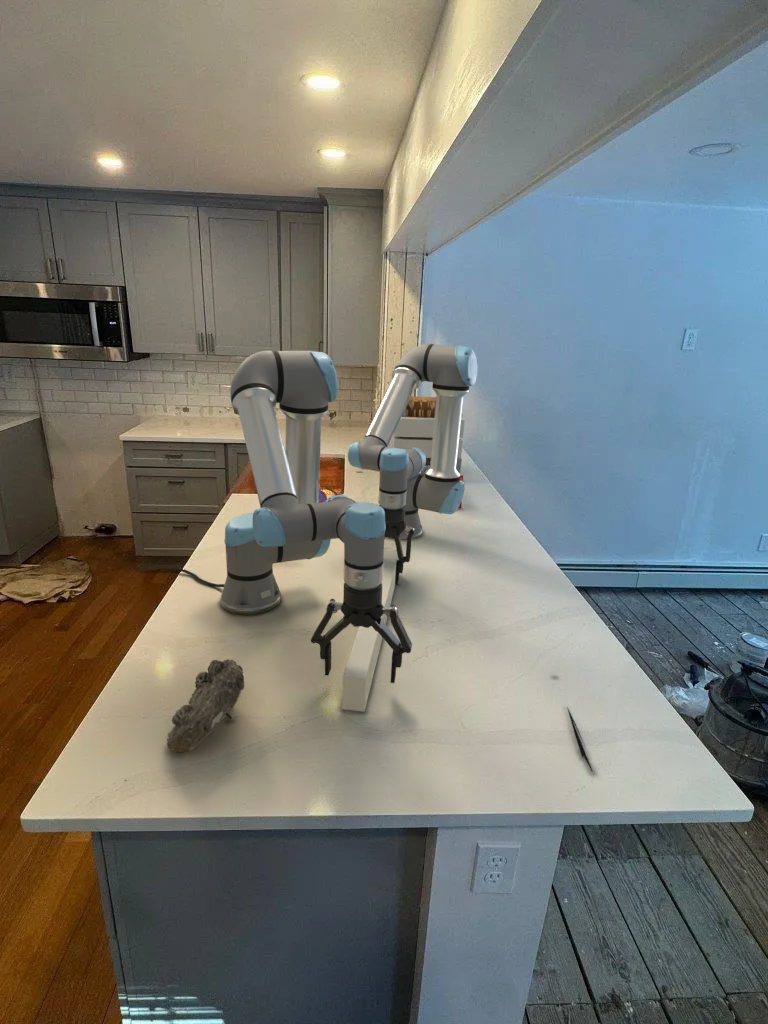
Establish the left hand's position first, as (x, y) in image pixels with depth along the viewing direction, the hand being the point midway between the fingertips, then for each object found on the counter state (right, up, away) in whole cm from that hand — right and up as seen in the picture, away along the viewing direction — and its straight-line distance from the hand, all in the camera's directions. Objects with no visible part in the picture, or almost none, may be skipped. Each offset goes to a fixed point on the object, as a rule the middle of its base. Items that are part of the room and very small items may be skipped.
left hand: (360, 675), depth 117 cm
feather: (+42, -7, -5) cm, 43 cm away
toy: (+31, +40, +124) cm, 133 cm away
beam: (+3, +5, +24) cm, 25 cm away
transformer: (+22, +53, +158) cm, 168 cm away
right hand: (+6, +14, +47) cm, 49 cm away
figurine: (-21, +34, +102) cm, 109 cm away
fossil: (-28, -5, -9) cm, 30 cm away
